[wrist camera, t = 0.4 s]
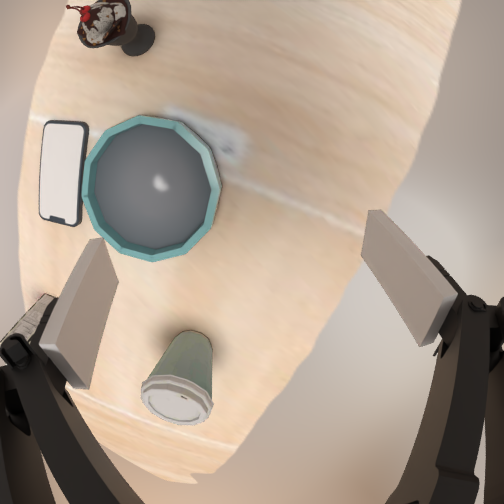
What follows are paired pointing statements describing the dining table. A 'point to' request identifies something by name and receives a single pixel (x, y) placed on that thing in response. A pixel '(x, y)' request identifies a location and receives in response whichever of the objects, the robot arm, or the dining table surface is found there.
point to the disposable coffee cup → (181, 381)
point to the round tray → (151, 188)
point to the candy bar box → (30, 319)
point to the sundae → (113, 27)
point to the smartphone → (62, 171)
